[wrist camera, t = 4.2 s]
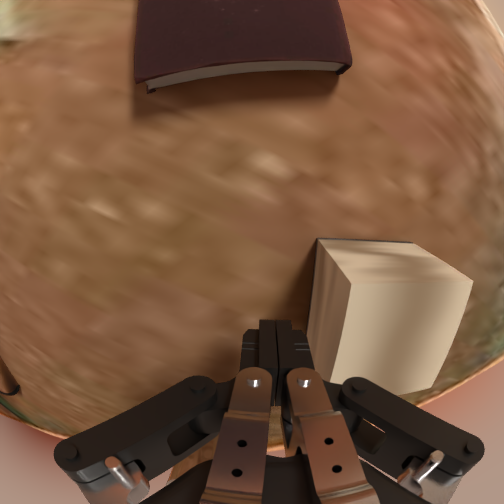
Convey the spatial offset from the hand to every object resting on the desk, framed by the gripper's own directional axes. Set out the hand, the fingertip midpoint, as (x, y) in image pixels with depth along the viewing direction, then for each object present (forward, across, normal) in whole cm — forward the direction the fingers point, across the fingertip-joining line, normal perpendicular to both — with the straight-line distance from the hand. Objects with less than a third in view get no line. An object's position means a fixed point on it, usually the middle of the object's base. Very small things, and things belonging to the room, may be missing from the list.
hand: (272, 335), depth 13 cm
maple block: (+5, -6, 0) cm, 8 cm away
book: (+6, +3, -23) cm, 24 cm away
